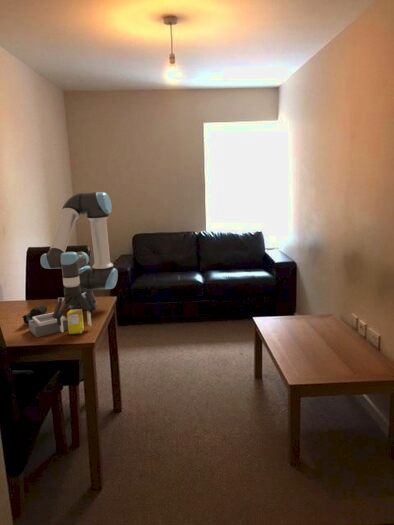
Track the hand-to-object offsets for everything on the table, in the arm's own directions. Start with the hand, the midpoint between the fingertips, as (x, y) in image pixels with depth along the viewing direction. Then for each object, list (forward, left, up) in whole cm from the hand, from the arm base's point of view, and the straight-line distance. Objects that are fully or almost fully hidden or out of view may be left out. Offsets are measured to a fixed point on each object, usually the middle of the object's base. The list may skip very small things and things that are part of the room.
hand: (76, 328), depth 203 cm
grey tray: (+9, -13, -2) cm, 16 cm away
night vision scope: (+11, -31, -2) cm, 32 cm away
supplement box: (0, 0, -2) cm, 2 cm away
